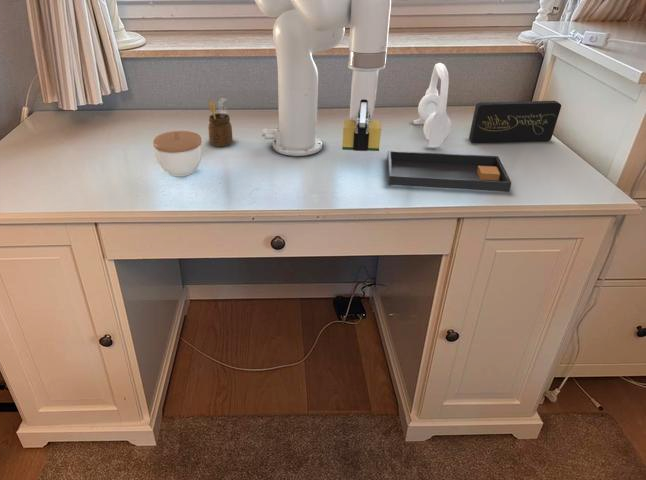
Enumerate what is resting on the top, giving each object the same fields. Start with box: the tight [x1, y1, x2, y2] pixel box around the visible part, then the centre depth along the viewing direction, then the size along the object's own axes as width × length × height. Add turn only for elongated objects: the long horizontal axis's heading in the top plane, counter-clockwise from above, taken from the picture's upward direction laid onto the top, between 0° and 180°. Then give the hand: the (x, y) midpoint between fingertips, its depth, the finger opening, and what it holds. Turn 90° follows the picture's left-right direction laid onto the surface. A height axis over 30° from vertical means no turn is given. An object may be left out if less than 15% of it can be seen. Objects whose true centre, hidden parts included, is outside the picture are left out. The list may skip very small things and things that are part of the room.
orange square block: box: [477, 166, 500, 181], centre depth 114 cm, size 4×4×2 cm
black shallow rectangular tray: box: [386, 150, 512, 193], centre depth 115 cm, size 25×14×3 cm, turn 82°
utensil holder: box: [207, 97, 233, 148], centre depth 130 cm, size 6×6×12 cm
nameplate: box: [468, 100, 562, 144], centre depth 130 cm, size 21×2×10 cm, turn 93°
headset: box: [413, 62, 452, 148], centre depth 131 cm, size 20×7×18 cm, turn 173°
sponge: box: [341, 119, 382, 152], centre depth 113 cm, size 8×5×5 cm, turn 82°
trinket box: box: [152, 130, 203, 178], centre depth 116 cm, size 11×11×9 cm
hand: (360, 144), depth 114 cm, fingers closed on sponge, 5 cm apart
